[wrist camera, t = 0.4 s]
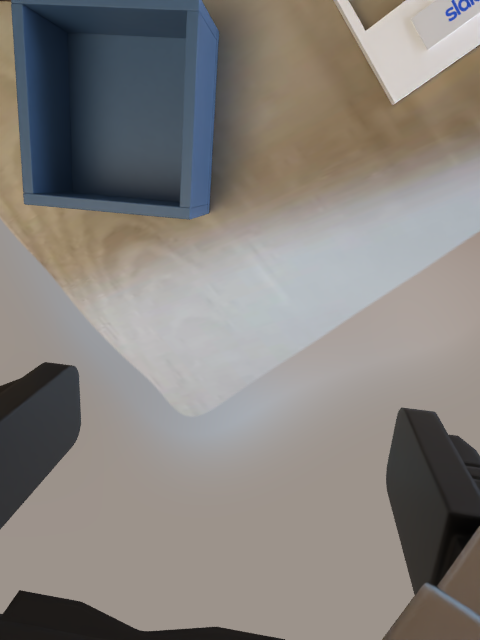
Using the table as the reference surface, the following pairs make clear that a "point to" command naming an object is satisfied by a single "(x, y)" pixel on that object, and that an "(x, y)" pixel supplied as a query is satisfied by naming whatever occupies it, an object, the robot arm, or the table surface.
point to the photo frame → (415, 40)
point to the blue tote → (116, 104)
